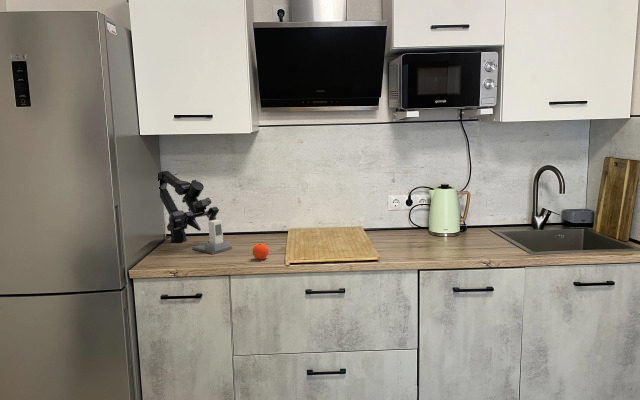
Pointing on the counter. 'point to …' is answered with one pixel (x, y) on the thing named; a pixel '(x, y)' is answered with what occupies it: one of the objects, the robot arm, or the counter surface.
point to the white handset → (215, 231)
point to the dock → (213, 247)
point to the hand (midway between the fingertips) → (208, 228)
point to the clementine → (260, 251)
